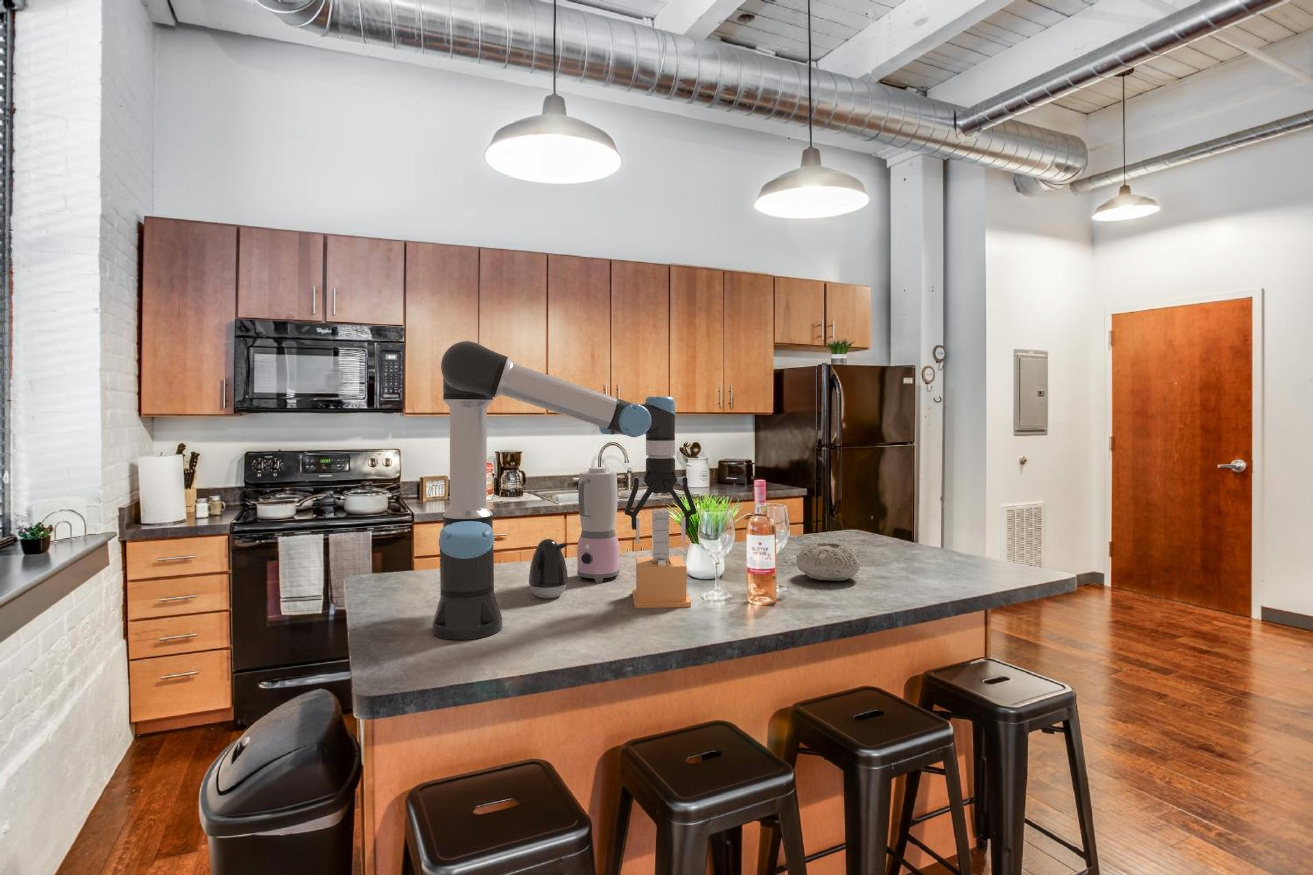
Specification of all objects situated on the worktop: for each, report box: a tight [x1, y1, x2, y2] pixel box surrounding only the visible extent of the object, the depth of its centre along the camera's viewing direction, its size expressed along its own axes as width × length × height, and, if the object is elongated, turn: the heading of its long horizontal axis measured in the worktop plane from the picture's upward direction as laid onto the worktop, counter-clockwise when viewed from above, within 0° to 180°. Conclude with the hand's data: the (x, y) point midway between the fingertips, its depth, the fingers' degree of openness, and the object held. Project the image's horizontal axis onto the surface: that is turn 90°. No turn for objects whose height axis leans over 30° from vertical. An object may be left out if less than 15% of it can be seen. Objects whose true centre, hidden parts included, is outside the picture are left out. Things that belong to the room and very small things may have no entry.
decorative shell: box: [796, 541, 861, 582], centre depth 208 cm, size 18×18×10 cm
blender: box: [576, 466, 620, 583], centre depth 208 cm, size 16×12×32 cm
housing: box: [631, 555, 692, 609], centre depth 185 cm, size 14×14×11 cm
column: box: [651, 509, 670, 564], centre depth 185 cm, size 6×4×22 cm
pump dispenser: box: [528, 538, 569, 600], centre depth 189 cm, size 10×10×15 cm
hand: (660, 541), depth 185 cm, fingers open, 11 cm apart
